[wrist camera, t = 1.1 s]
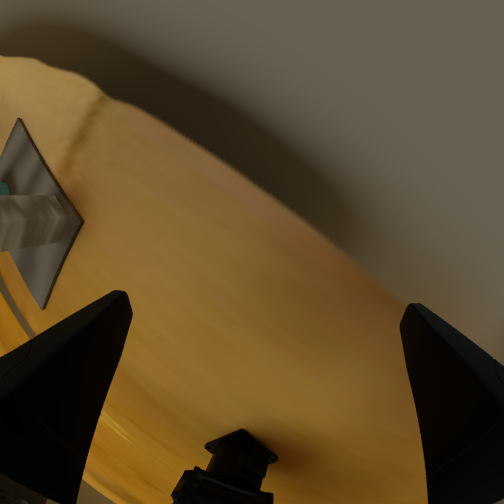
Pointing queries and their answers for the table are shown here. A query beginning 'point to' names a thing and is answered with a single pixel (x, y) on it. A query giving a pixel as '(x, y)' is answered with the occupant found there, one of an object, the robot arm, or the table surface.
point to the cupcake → (4, 189)
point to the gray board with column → (34, 215)
